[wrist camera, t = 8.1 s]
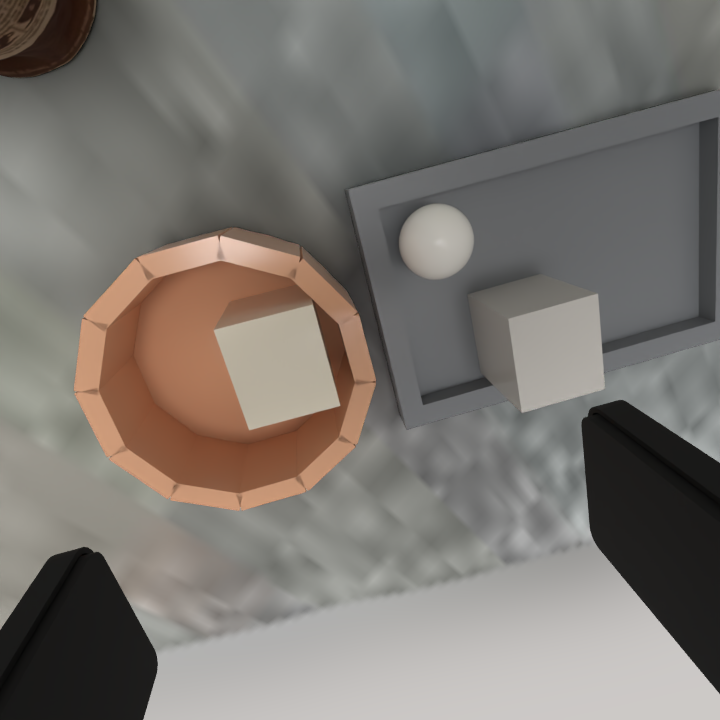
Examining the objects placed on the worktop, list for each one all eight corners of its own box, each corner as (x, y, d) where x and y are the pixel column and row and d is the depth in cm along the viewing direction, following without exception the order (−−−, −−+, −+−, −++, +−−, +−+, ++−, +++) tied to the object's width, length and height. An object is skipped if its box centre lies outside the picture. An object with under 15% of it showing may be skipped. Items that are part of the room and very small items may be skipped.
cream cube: (308, 281, 21) (312, 304, 17) (331, 365, 22) (340, 405, 18) (229, 301, 21) (213, 329, 17) (257, 384, 22) (249, 430, 18)
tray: (712, 90, 21) (742, 83, 20) (709, 327, 25) (734, 335, 23) (344, 189, 20) (348, 189, 19) (400, 415, 24) (406, 429, 23)
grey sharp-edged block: (540, 273, 22) (598, 293, 18) (549, 353, 24) (605, 389, 19) (467, 294, 22) (508, 318, 18) (480, 372, 23) (521, 413, 19)
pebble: (453, 194, 20) (478, 195, 18) (465, 263, 22) (491, 274, 19) (385, 212, 20) (400, 216, 18) (400, 281, 21) (416, 295, 19)
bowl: (323, 201, 20) (330, 205, 16) (379, 417, 24) (398, 465, 20) (78, 267, 20) (20, 288, 16) (174, 476, 24) (147, 537, 20)
